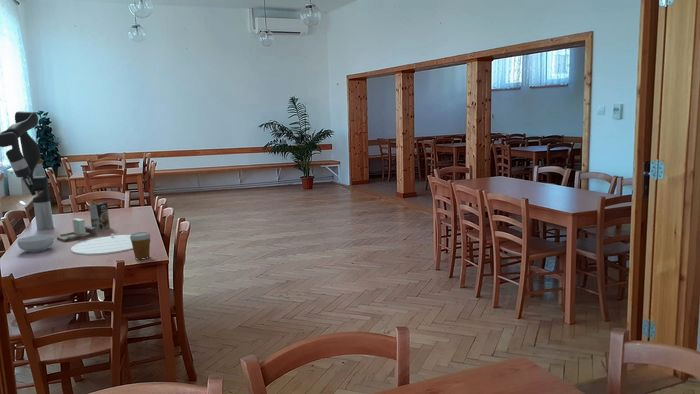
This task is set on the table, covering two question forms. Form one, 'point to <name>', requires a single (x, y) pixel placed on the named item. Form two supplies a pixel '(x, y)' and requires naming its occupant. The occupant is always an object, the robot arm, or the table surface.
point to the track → (72, 236)
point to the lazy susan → (103, 245)
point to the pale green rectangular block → (79, 226)
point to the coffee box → (99, 216)
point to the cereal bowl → (36, 243)
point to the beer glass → (141, 244)
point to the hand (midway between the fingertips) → (34, 194)
